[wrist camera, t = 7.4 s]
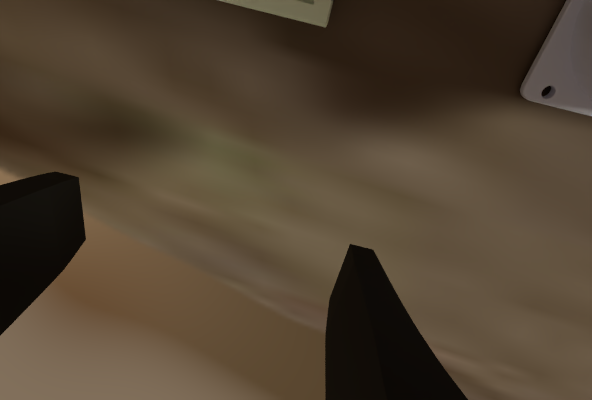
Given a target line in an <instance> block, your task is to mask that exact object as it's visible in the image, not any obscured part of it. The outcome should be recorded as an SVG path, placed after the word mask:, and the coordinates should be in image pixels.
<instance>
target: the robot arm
mask: <svg viewBox="0 0 592 400" xmlns="http://www.w3.org/2000/svg"><path fill="white" fill-rule="evenodd" d="M547 86H551V90H550V92H549V93H548V94H547V95H545V96H542V95H541V93H542V90H543V89H544V88H545V87H547ZM520 94H521V95H522V97H523V98H525V99H527V100H529V101H532V102H536V103H540V104H544V105H548V106H552V107H556V108H560V109H564V110H568V111H572V112H576V113H580V114H584V115H588V116H592V0H566V2H565V4H564V6H563V8H562V10H561V12H560V13H559V15H558V17H557V19H556V21H555V23H554V25H553V27H552V28H551V30H550V32H549V34H548V36H547V38H546V40H545V42H544V43H543V45H542V47H541V49H540V51H539V53H538V55H537V57H536V58H535V60H534V62H533V64H532V66H531V68H530V70H529V72H528V73H527V75H526V77H525V79H524V81H523V83H522V85H521V88H520ZM85 240H86V237H85V228H84V219H83V211H82V202H81V194H80V185H79V177H75V176H71V175H67V174H63V173H59V172H51V173H46V174H41V175H37V176H33V177H29V178H25V179H21V180H18V181H14V182H11V183H7V184H3V185H0V335H1V334H2V333H3V332H4V331H5V330H6V329H7V328H8V327H9V326H10V325H11V324H12V323H13V322H14V321H15V320H16V319H17V318H18V317H19V316H20V315H21V314H22V313H23V312H24V311H25V310H26V309H27V308H28V306H30V305H31V303H32V302H33V301H34V300H35V299H36V298H37V297H38V296H39V295H40V294H41V293H42V292H43V291H44V290H45V289H46V288H47V287H48V286H49V285H50V284H51V283H52V282H53V281H54V280H55V279H56V277H57V276H58V275H59V274H60V273H61V272H62V271H63V270H64V269H65V267H66V266H67V265H68V263H69V262H70V261H71V259H72V258H73V257H74V255H75V253H76V252H77V251H78V250H79V248H80V246H81V245H82V244H83V242H84V241H85ZM325 342H326V343H325V344H326V345H325V348H326V349H325V351H326V354H325V355H326V356H325V357H326V358H325V360H326V362H325V363H326V364H325V365H326V366H325V367H326V369H325V370H326V371H325V372H326V373H325V374H326V375H325V376H326V400H468V399H467V398H466V397H465V395H464V394H463V393H462V391H461V390H460V389H459V387H458V386H457V385H456V383H455V382H454V381H453V380H452V378H451V377H450V376H449V374H448V373H447V372H446V370H445V369H444V368H443V366H442V365H441V363H440V362H439V361H438V359H437V358H436V356H435V355H434V353H433V352H432V350H431V349H430V347H429V346H428V344H427V343H426V341H425V340H424V338H423V337H422V335H421V334H420V332H419V331H418V329H417V327H416V326H415V324H414V323H413V321H412V319H411V318H410V316H409V314H408V312H407V311H406V309H405V307H404V306H403V304H402V302H401V301H400V299H399V297H398V295H397V293H396V292H395V290H394V288H393V286H392V284H391V282H390V281H389V279H388V277H387V275H386V273H385V271H384V269H383V267H382V265H381V264H380V262H379V260H378V258H377V256H376V254H375V252H374V251H373V250H372V249H368V248H364V247H360V246H356V245H352V244H350V246H349V248H348V251H347V254H346V256H345V259H344V262H343V264H342V267H341V270H340V273H339V275H338V278H337V281H336V283H335V286H334V289H333V291H332V294H331V297H330V300H329V308H328V317H327V326H326V341H325Z"/></svg>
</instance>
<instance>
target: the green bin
mask: <svg viewBox="0 0 592 400" xmlns="http://www.w3.org/2000/svg"><path fill="white" fill-rule="evenodd" d="M218 1H222V2H226V3H230V4H234V5H238V6H242V7H246V8H250V9H254V10H258V11H262V12H266V13H270V14H274V15H278V16H282V17H286V18H290V19H294V20H298V21H302V22H306V23H310V24H314V25H318V26H322V27H326V26H327V24H328V22H329V18H330V14H331V9H332V5H333V1H334V0H218Z"/></svg>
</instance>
